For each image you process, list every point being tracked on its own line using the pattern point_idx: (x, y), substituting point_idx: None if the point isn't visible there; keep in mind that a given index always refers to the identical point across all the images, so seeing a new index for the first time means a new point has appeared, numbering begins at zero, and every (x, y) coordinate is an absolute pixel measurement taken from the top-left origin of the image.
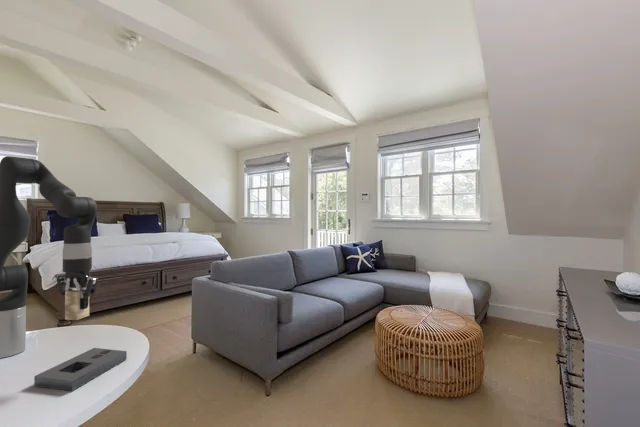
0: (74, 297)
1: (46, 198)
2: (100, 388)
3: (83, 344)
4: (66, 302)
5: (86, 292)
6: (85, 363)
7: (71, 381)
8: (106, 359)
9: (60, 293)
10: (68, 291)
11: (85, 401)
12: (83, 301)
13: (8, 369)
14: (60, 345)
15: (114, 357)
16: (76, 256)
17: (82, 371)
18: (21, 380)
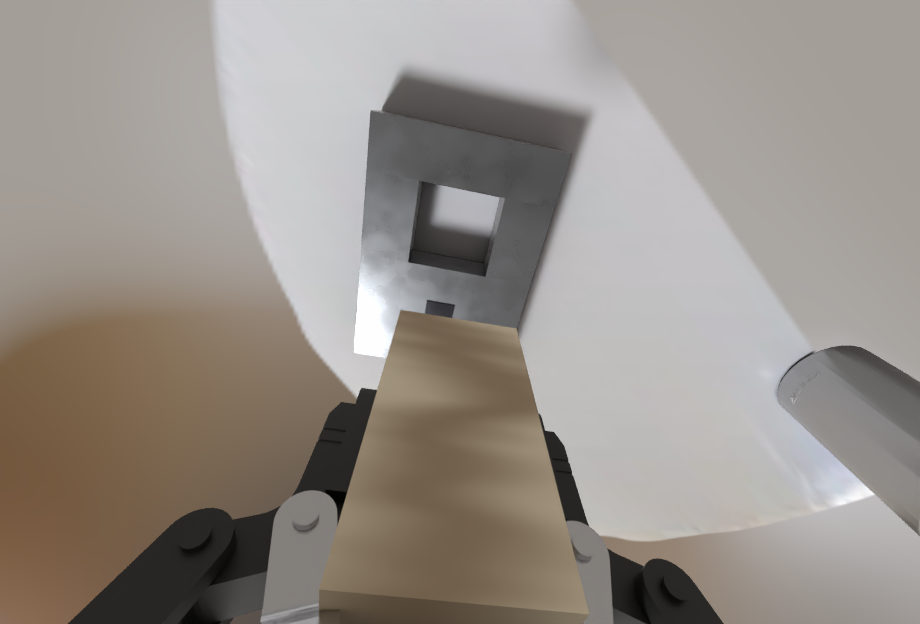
0: (390, 491)
1: None
2: (290, 136)
3: (596, 430)
4: (526, 442)
5: (164, 584)
6: (444, 267)
7: (376, 112)
8: (379, 291)
9: (696, 593)
10: (532, 618)
11: (266, 34)
12: (324, 460)
13: (749, 274)
14: (672, 425)
15: (359, 306)
16: None
17: (395, 194)
18: (644, 196)
